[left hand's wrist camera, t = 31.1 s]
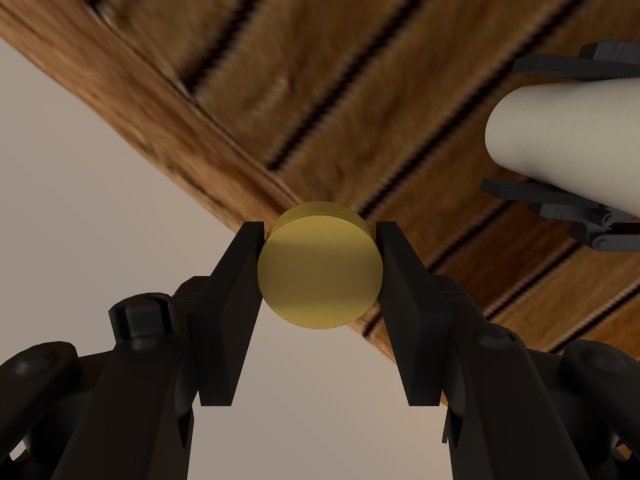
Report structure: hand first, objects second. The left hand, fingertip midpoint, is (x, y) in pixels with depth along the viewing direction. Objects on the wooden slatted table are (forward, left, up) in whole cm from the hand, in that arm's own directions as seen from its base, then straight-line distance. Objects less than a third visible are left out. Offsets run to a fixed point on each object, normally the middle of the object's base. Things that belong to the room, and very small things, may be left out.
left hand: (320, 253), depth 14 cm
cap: (0, 0, +2) cm, 2 cm away
